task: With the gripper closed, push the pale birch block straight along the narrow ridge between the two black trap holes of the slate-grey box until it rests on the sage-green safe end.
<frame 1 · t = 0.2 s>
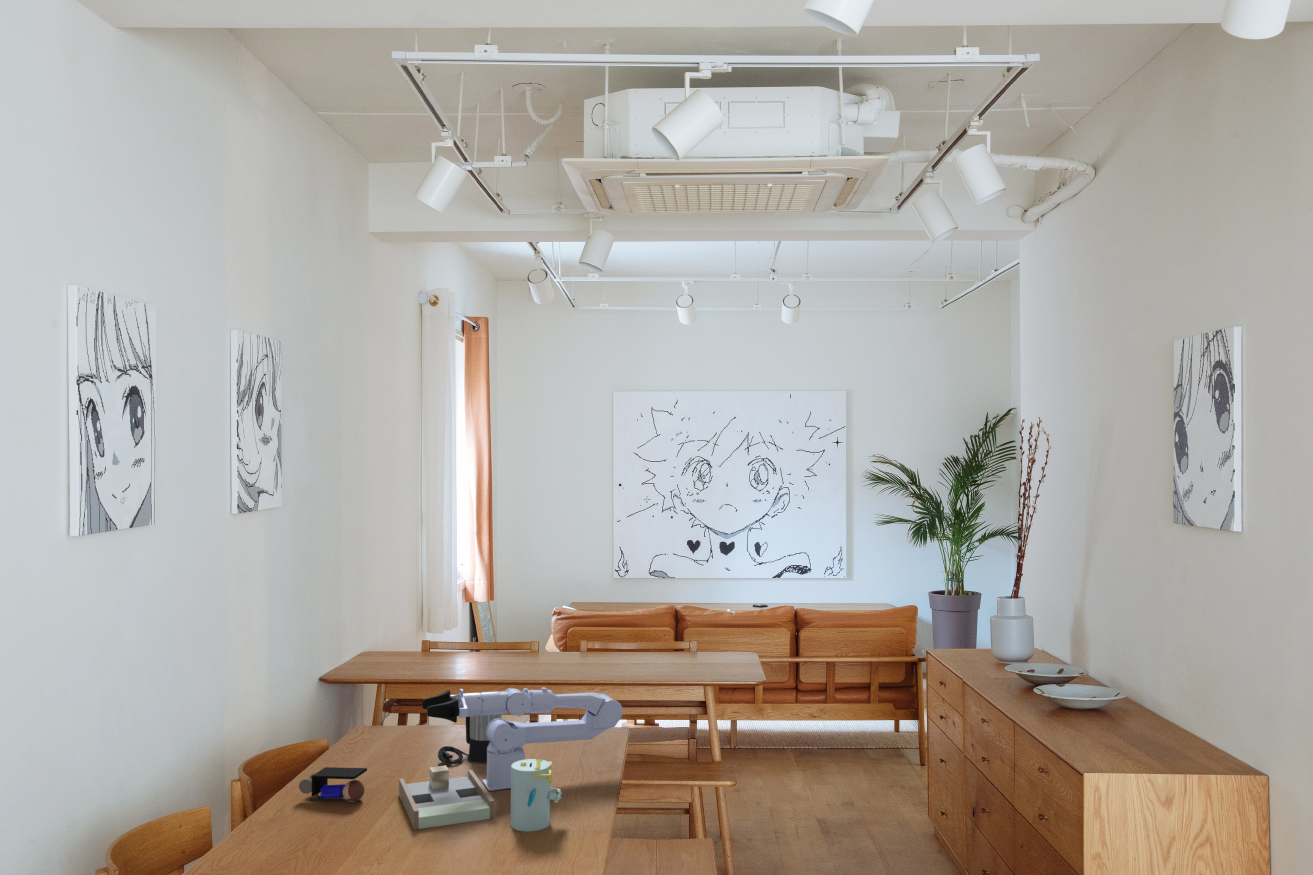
hand: (424, 707, 228), 21 cm above the table, tool horizontal, fingers open, 7 cm apart
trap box: (444, 806, 219), on the table
milk frother: (470, 761, 255), on the table
block: (438, 785, 227), point 2 cm above the table, touching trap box
pale blue upright cylinder: (536, 824, 209), on the table
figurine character: (333, 800, 224), on the table
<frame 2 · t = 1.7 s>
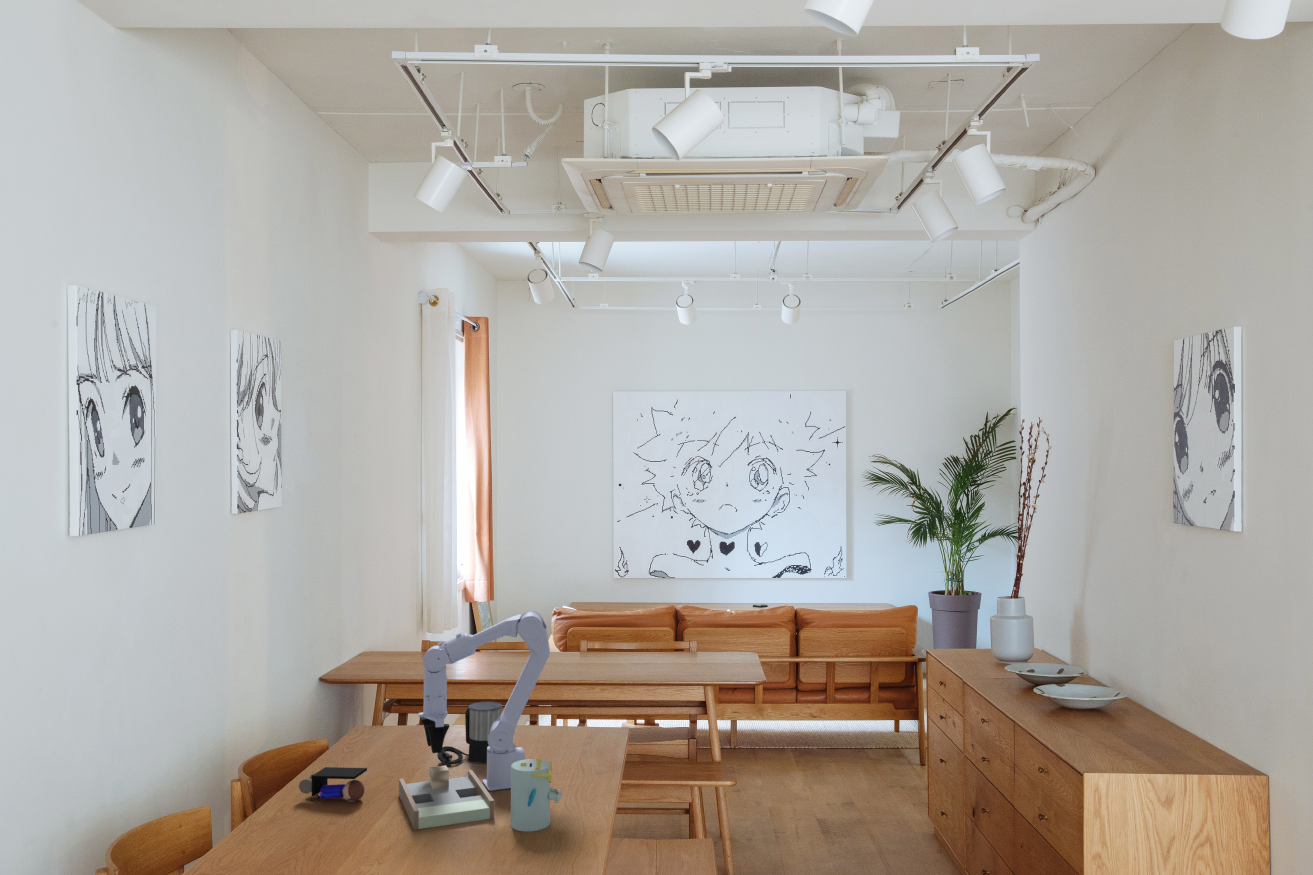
hand: (434, 748, 234), 9 cm above the table, tool pointing down, fingers open, 6 cm apart
nothing on the table moved.
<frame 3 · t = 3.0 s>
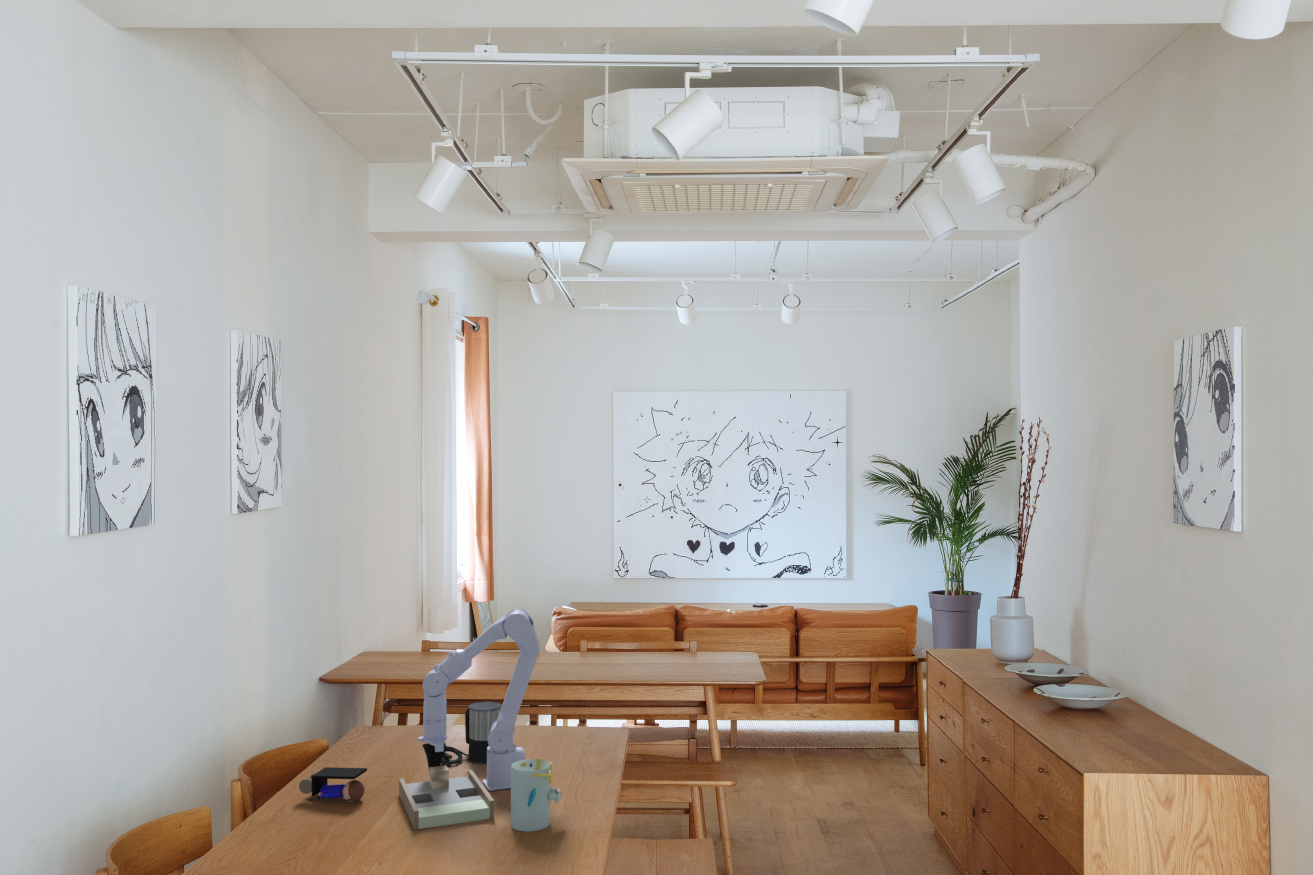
hand: (434, 772, 233), 3 cm above the table, tool pointing down, fingers closed
nothing on the table moved.
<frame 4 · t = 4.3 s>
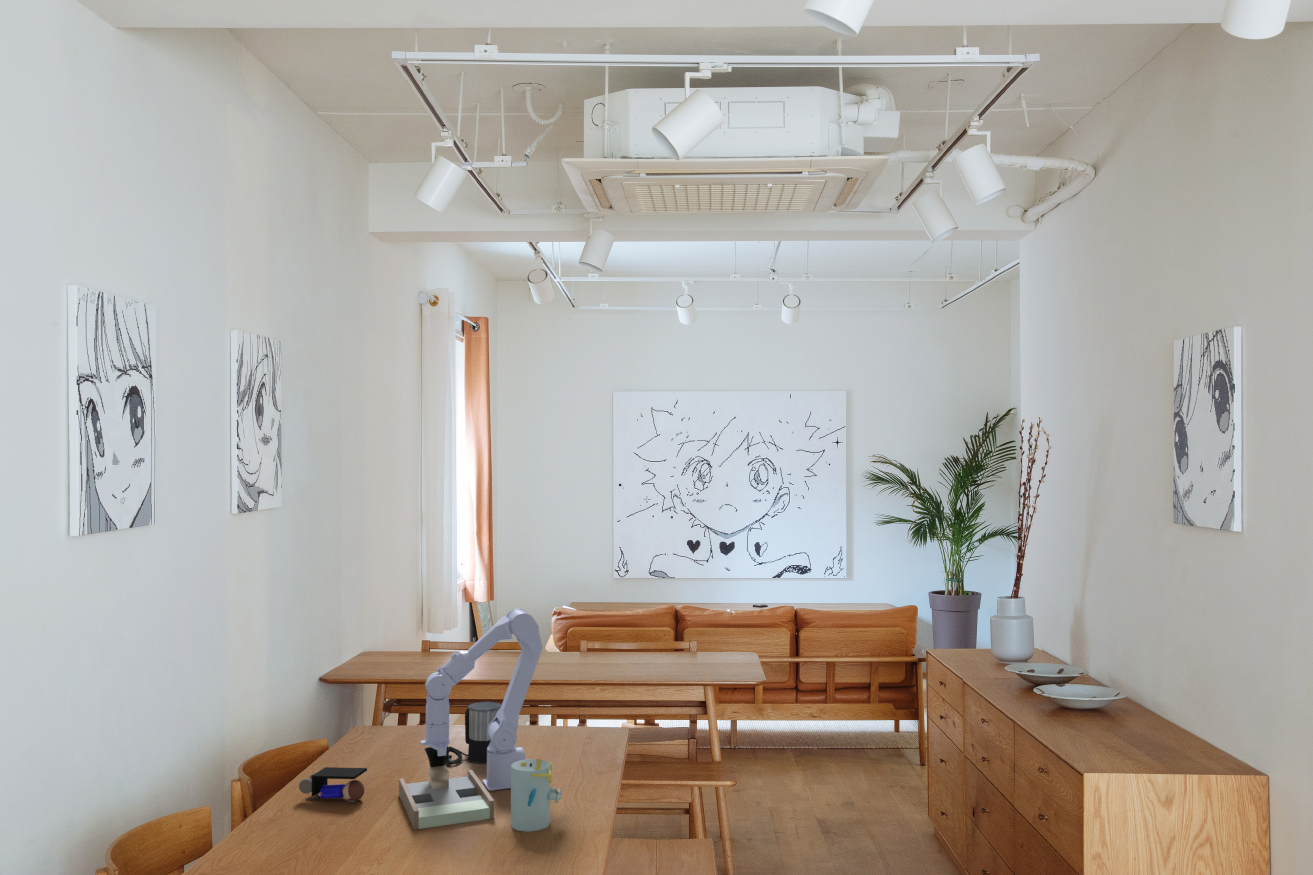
hand: (436, 777, 230), 3 cm above the table, tool pointing down, fingers closed
block: (438, 785, 227), point 3 cm above the table, touching gripper
everything else where it was.
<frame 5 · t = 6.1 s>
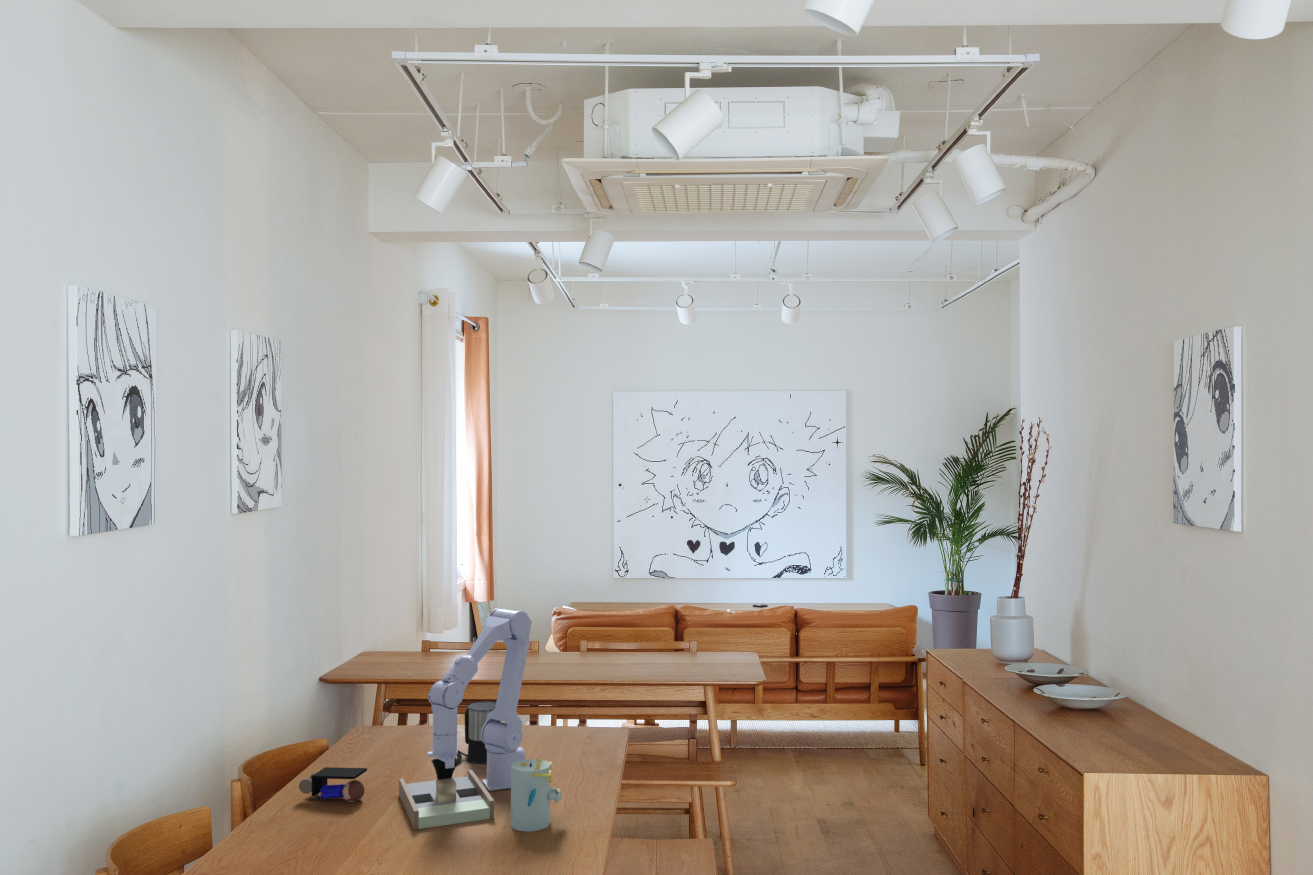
hand: (444, 790, 221), 3 cm above the table, tool pointing down, fingers closed
block: (445, 798, 217), point 3 cm above the table, touching gripper
everything else where it was.
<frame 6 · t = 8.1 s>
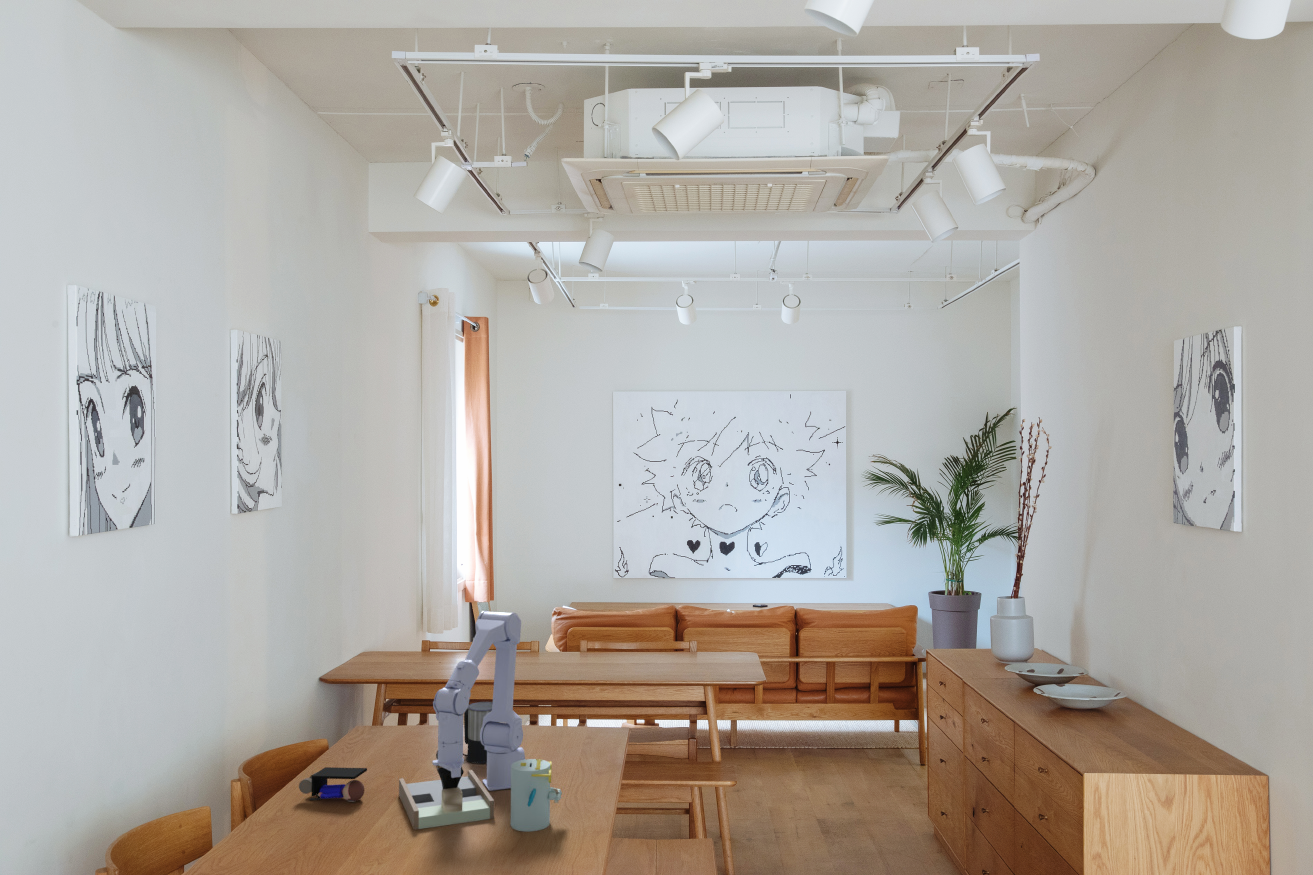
hand: (449, 799, 214), 3 cm above the table, tool pointing down, fingers closed
block: (451, 808, 211), point 3 cm above the table, touching gripper, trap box
everything else where it was.
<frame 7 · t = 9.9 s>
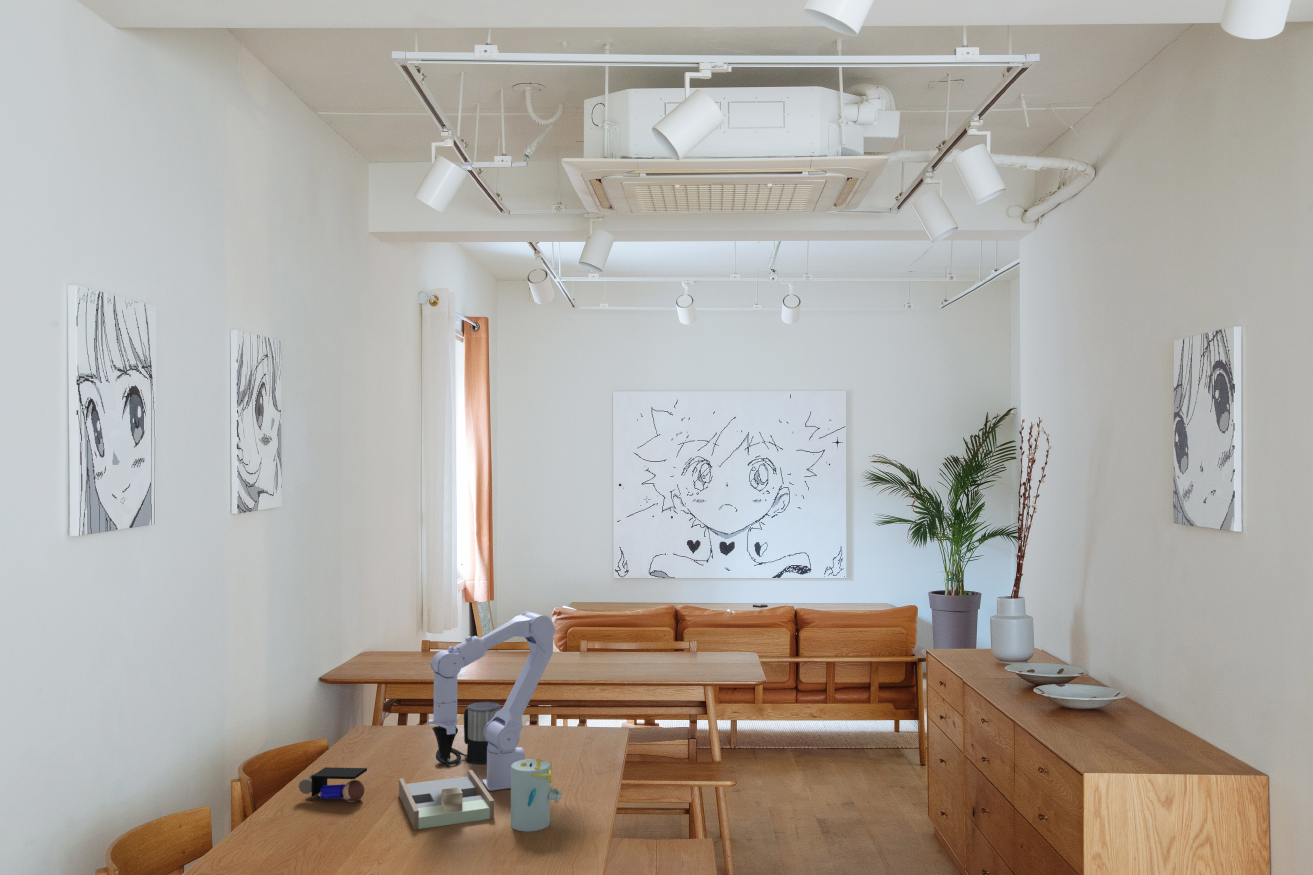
hand: (444, 756, 227), 9 cm above the table, tool pointing down, fingers closed
block: (451, 808, 211), point 2 cm above the table, touching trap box
everything else where it was.
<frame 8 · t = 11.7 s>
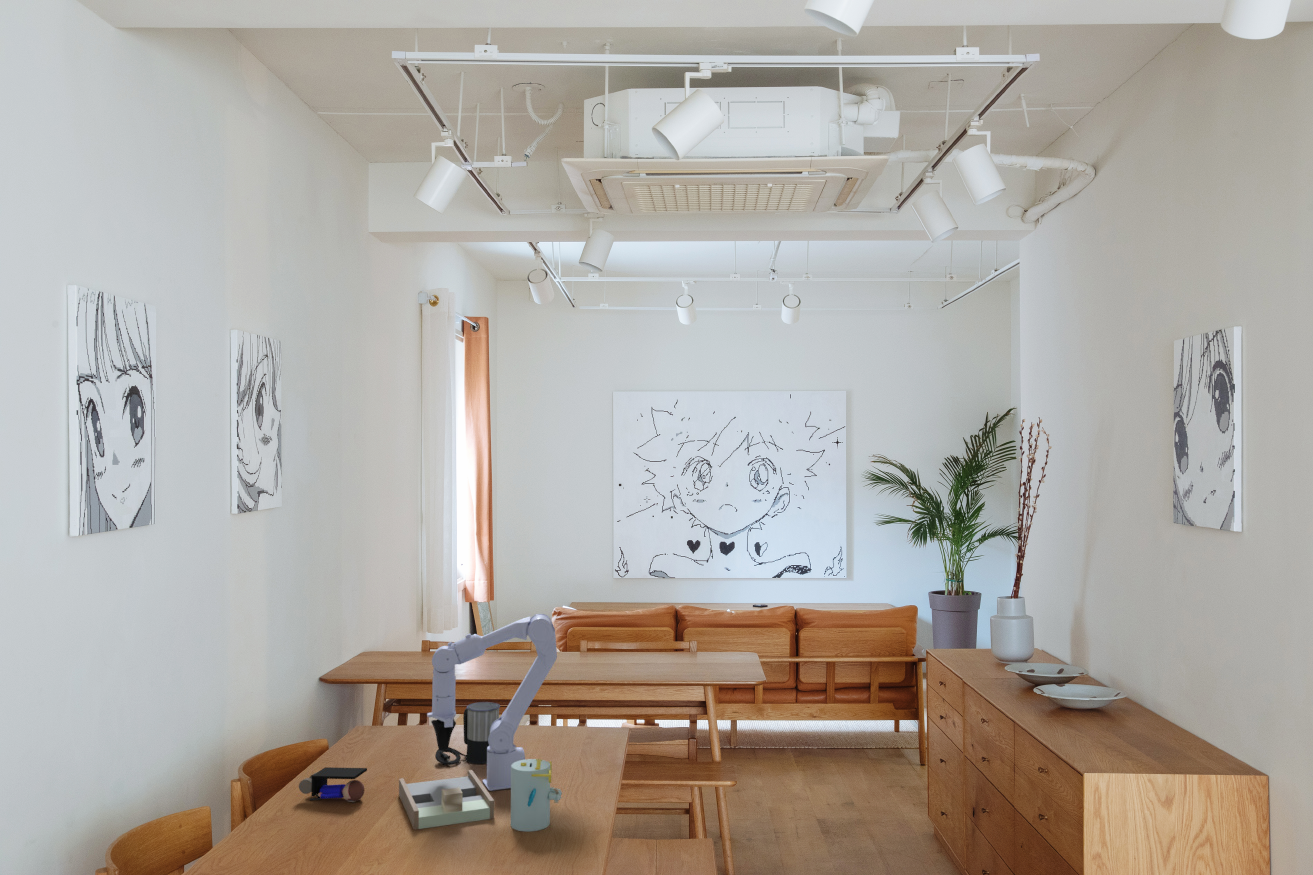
hand: (443, 749, 233), 9 cm above the table, tool pointing down, fingers closed
nothing on the table moved.
at the end: block 0.3 cm from the target spot on the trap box, point 2.5 cm above the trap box's base; block tilted 0° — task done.
